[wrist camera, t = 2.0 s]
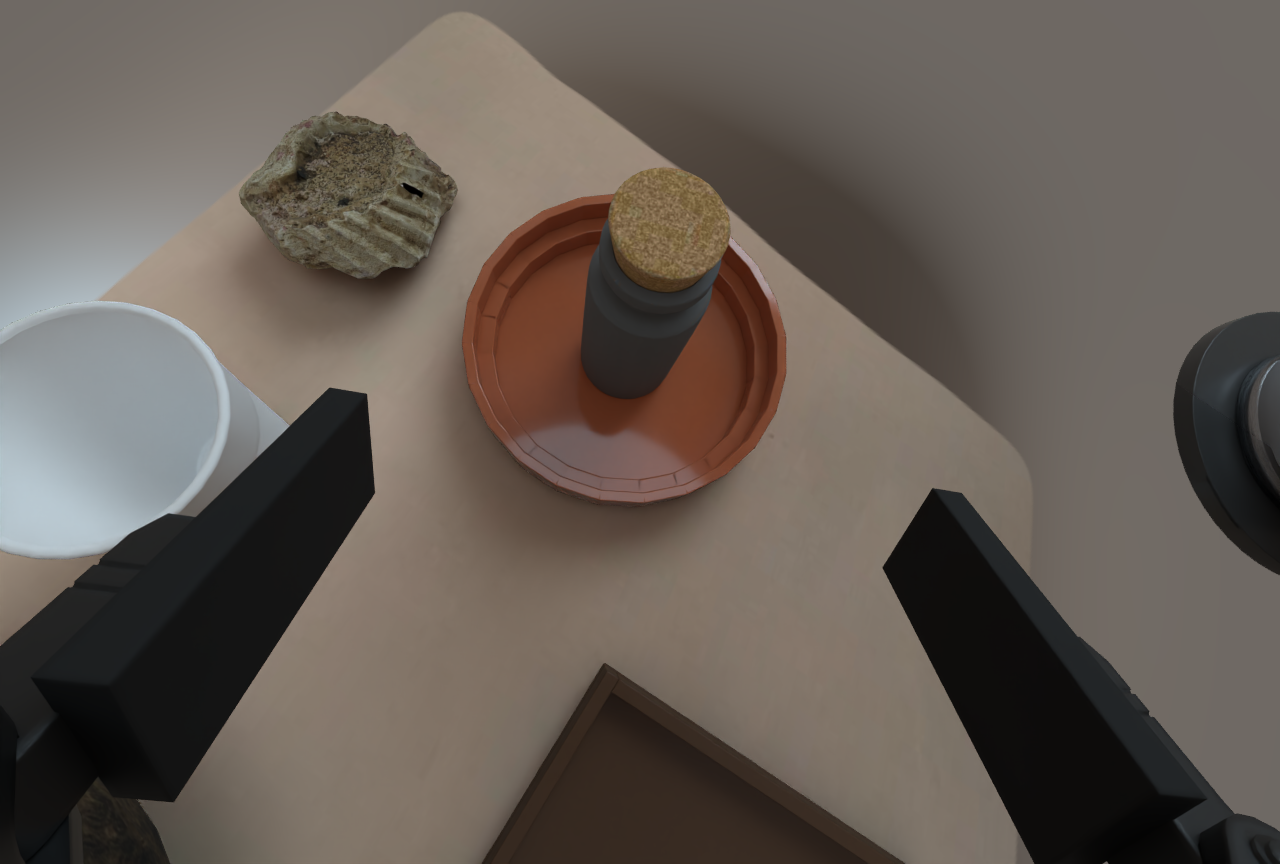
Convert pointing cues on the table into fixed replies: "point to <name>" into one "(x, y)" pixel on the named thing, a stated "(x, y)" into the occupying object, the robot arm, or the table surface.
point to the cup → (114, 427)
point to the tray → (663, 796)
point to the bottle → (650, 279)
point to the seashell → (349, 196)
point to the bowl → (117, 830)
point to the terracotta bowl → (590, 419)
